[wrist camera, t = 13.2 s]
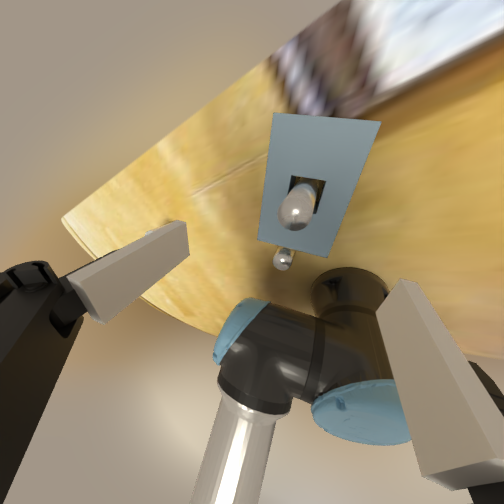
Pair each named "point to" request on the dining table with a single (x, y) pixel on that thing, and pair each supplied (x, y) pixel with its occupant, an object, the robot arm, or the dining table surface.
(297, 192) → the tall pin
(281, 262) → the short pin
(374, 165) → the dining table surface
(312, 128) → the hole block
